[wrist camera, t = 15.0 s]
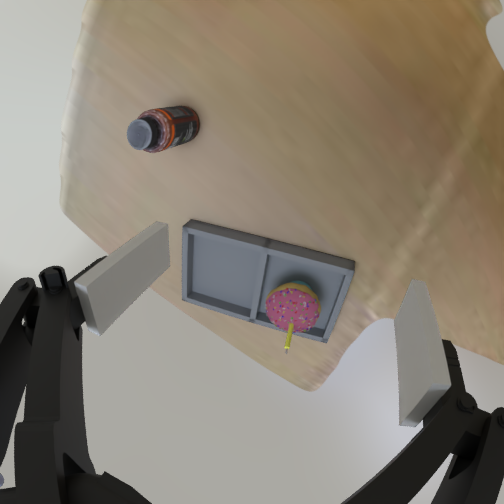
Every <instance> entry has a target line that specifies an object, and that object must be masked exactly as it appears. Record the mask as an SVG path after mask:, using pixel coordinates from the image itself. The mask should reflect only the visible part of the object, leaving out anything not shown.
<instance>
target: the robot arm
mask: <svg viewBox="0 0 504 504" xmlns="http://www.w3.org/2000/svg"><path fill="white" fill-rule="evenodd" d="M169 267H170V255H169V233H168V224H167V223H163V222H158V221H156V222H155V223H153V224H152V225H151V226H149V227H148V228H146V229H145V230H143V231H142V232H140V233H139V234H138V235H136V236H135V237H133V238H132V239H131V240H129V241H128V242H126V243H125V244H124V245H122V246H121V247H119V248H118V249H117V250H115V251H114V252H113V253H111V254H110V255H108V256H104V257H102V258H99V259H97V260H96V261H95V262H93V263H92V264H90V266H88V267H86V268H85V270H82V271H81V272H80V273H78V274H77V275H76V276H74V277H73V278H72V279H71V280H69V281H68V282H67V278H66V274H65V270H64V269H63V267H60V266H51V267H48V268H46V269H44V270H43V271H41V272H40V274H39V279H40V282H41V285H42V288H38V287H36V285H35V281H34V279H32V278H29V277H27V278H21V279H19V280H18V281H16V282H15V283H14V284H13V286H12V287H11V289H10V290H9V292H8V293H7V295H6V296H5V298H4V299H3V301H2V302H1V304H0V466H1V464H2V462H3V459H4V457H5V454H6V451H7V447H8V444H9V440H10V436H11V432H12V428H13V425H14V421H15V418H16V414H17V411H18V408H19V405H20V402H21V398H22V395H23V392H24V389H25V386H26V395H25V409H24V420H23V422H19V423H17V424H16V427H15V436H14V462H15V464H14V465H15V485H16V487H12V488H6V489H0V504H152V503H150V502H149V501H148V500H147V499H146V498H144V497H143V496H142V495H141V494H140V493H138V492H137V491H136V490H135V489H133V487H131V486H130V485H128V484H126V483H124V482H122V481H120V480H119V479H117V478H115V477H114V476H112V475H110V474H109V473H107V472H104V473H103V474H102V475H98V474H96V473H95V469H94V466H93V464H92V462H91V460H90V457H89V453H88V446H87V438H86V429H85V418H84V405H83V387H82V386H83V385H82V327H81V324H82V323H83V322H85V321H86V324H87V327H88V330H89V331H91V332H93V333H95V334H97V335H99V336H101V335H102V334H103V333H104V332H105V331H106V330H107V328H108V327H109V326H110V325H111V324H112V323H113V322H114V321H115V320H116V319H117V318H118V317H119V316H120V315H121V314H122V313H123V312H124V311H125V310H126V309H127V308H128V307H129V306H130V305H131V304H132V303H133V302H134V301H135V300H136V299H137V298H138V297H139V296H140V295H141V294H142V293H143V292H144V291H145V290H146V289H147V288H148V287H149V286H150V285H151V284H152V283H153V282H154V281H155V280H156V279H157V278H158V277H159V276H160V275H162V274H163V273H164V272H165V271H166V270H167V269H168V268H169ZM23 318H24V321H25V322H24V324H23V325H22V319H23ZM394 326H395V336H396V348H397V362H398V381H399V425H400V426H410V427H416V426H417V425H418V424H419V423H420V422H421V421H422V420H423V428H422V430H421V431H420V432H419V433H418V434H417V435H416V436H415V437H414V438H413V439H412V440H411V441H410V442H409V443H408V444H407V445H406V447H405V448H404V449H403V450H402V451H401V452H400V453H399V454H398V455H397V456H396V457H395V458H393V459H392V460H391V461H390V462H389V463H388V464H387V465H386V466H385V467H384V468H383V469H382V470H381V471H380V472H379V473H377V474H376V475H375V476H374V477H373V478H372V479H371V480H369V481H368V482H367V483H366V484H365V485H364V486H362V487H361V488H360V489H359V490H358V491H356V492H355V493H354V494H352V495H351V496H350V497H349V498H347V499H346V500H345V501H344V502H342V503H341V504H408V503H409V502H410V501H411V499H412V498H413V497H414V496H415V495H416V494H417V493H418V492H419V491H420V490H421V489H422V487H423V486H424V485H425V484H426V483H427V482H428V480H429V479H430V478H431V477H432V476H433V474H434V473H435V472H436V471H437V469H438V468H439V467H440V466H441V464H442V463H443V462H444V461H445V459H446V458H447V457H448V455H449V454H450V453H452V454H454V455H453V458H452V460H451V462H450V465H449V467H448V469H447V472H446V474H445V476H444V478H443V481H442V482H441V485H440V487H439V489H438V491H437V493H436V495H435V497H434V499H433V501H432V503H431V504H495V503H496V500H497V497H498V494H499V491H500V488H501V485H502V481H503V478H504V408H503V407H500V408H497V409H495V410H494V411H493V412H492V413H491V414H490V413H488V412H486V411H483V410H481V409H479V408H477V403H476V401H475V399H474V398H473V397H472V395H470V394H469V393H467V392H466V390H465V385H464V381H463V376H462V372H461V368H460V363H459V360H458V355H457V351H456V349H455V347H454V346H453V344H452V343H451V341H448V340H443V339H441V335H440V331H439V327H438V323H437V320H436V316H435V313H434V309H433V306H432V302H431V299H430V296H429V292H428V289H427V286H426V283H425V282H424V281H419V280H415V279H412V280H411V282H410V285H409V287H408V290H407V292H406V295H405V297H404V299H403V302H402V304H401V306H400V309H399V311H398V313H397V316H396V318H395V320H394ZM26 384H27V385H26ZM3 483H4V478H3V476H2V474H1V473H0V486H2V485H3Z"/></svg>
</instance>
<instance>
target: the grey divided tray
mask: <svg viewBox="0 0 504 504" xmlns="http://www.w3.org/2000/svg"><path fill="white" fill-rule="evenodd" d="M354 271H355V261H352V260H348V259H345V258H341V257H337V256H333V255H329V254H326V253H322V252H318V251H314V250H311V249H307V248H303V247H299V246H295V245H291V244H287V243H284V242H280V241H276V240H272V239H268V238H264V237H260V236H256V235H252V234H248V233H244V232H240V231H236V230H232V229H228V228H224V227H220V226H216V225H212V224H208V223H204V222H200V221H196V220H192V219H191V220H190V221H189V222H187V223H186V224H185V225H184V226H183V232H182V300H183V301H186V302H189V303H192V304H195V305H198V306H201V307H204V308H207V309H210V310H213V311H217V312H220V313H223V314H226V315H229V316H232V317H235V318H239V319H242V320H245V321H249V322H252V323H255V324H259V325H262V326H265V327H269V328H272V329H276V330H279V331H283V332H286V331H285V330H281V329H280V328H279V327H276V326H275V325H274V324H273V323H271V320H269V317H268V316H266V314H267V313H266V309H265V304H266V298H267V296H268V294H269V293H270V291H271V290H273V289H276V288H277V287H279V286H280V285H283V284H286V283H290V282H292V281H303V282H305V283H307V284H308V285H309V286H310V287H311V288H312V291H313V292H314V293H315V294H316V295H317V296H318V300H319V302H320V305H321V312H320V315H319V317H318V319H317V321H316V323H315V325H314V327H312V328H311V329H309V331H307V330H306V331H305V332H304V331H303V332H302V333H300V332H299V333H298V332H297V333H298V334H297V333H292V334H294V335H297V336H301V337H305V338H308V339H312V340H316V341H320V342H324V343H327V342H328V339H329V337H330V334H331V332H332V329H333V327H334V325H335V322H336V320H337V317H338V314H339V312H340V309H341V307H342V304H343V301H344V299H345V296H346V293H347V291H348V288H349V285H350V282H351V280H352V277H353V274H354ZM286 333H288V332H286Z"/></svg>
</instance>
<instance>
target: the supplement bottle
mask: <svg viewBox="0 0 504 504" xmlns="http://www.w3.org/2000/svg"><path fill="white" fill-rule="evenodd" d="M198 128H199V121H198V117H197V115H196V113H195V112H194V111H193V110H192V109H190V108H188V107H186V106H175V107H166V108H159V109H152V110H148V111H145V112H143V113H142V114H141V115H140V116H139V117H138V118H137V119H136V120H134V121H133V122H131V124H130V125H129V127H128V130H127V139H128V141H129V143H130V145H131V146H132V147H133V148H135V149H137V150H144V151H146V152H150V153H155V152H160V151H163V150H166V149H168V148H172V147H174V146H178V145H181V144H184V143H187V142H189V141H191V140H192V139H193V138H194V137H195V136H196V134H197V132H198Z"/></svg>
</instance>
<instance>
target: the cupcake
mask: <svg viewBox="0 0 504 504" xmlns="http://www.w3.org/2000/svg"><path fill="white" fill-rule="evenodd" d="M265 309H266V313H267V314H266V316H268V317H269V320H271V323H273V324H274V325H275V326H276V327H279V328H280V329H281V330H285V331H286V332H288V334H287V338H286V343H285V349H286V354H287V349H289V347H290V342H291V337H292V333H297V332H298V333H299V332H300V333H302V332H303V331H304V332H305V331H306V330H307V331H309V329H311V328H312V327H314V325H315V323H316V321H317V319H318V317H319V315H320V312H321V305H320V302H319V300H318V296H317V295H316V294H315V293H314V292H313V291H312V288H311V287H310V286H309V285H308V284H307V283H305V282H303V281H292V282H290V283H286V284H283V285H280V286H279V287H277V288H276V289H273V290H271V291H270V293H269V294H268V296H267V298H266V304H265ZM298 333H297V334H298Z"/></svg>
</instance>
